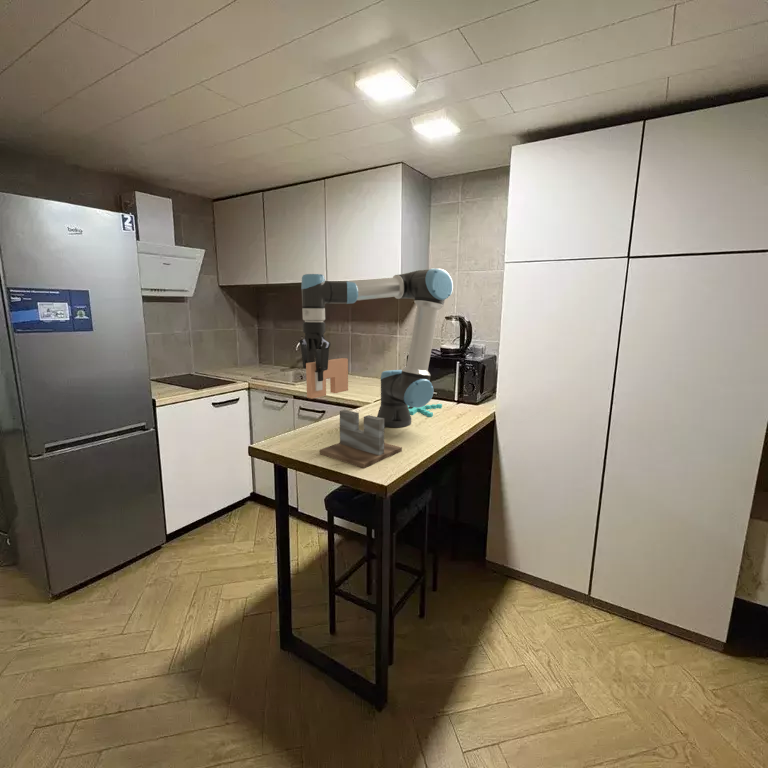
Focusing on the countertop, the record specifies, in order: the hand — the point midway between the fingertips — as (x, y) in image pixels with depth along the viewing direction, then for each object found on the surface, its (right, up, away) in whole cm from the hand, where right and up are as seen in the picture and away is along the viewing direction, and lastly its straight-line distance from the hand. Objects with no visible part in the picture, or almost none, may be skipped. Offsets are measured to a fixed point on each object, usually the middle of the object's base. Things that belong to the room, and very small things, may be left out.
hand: (315, 389), depth 146 cm
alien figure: (+40, -12, +58) cm, 71 cm away
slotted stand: (+16, -22, -1) cm, 27 cm away
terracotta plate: (+4, -2, +5) cm, 7 cm away
